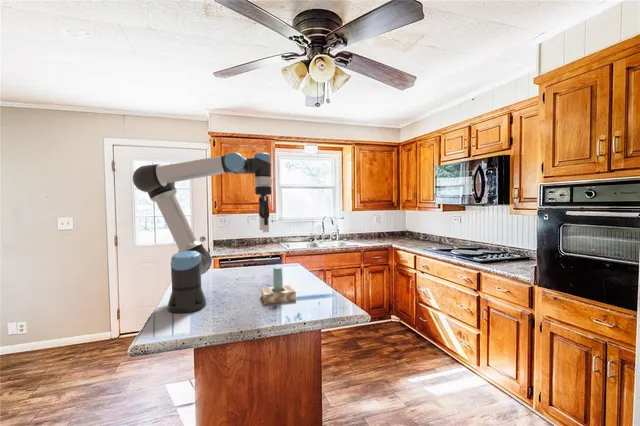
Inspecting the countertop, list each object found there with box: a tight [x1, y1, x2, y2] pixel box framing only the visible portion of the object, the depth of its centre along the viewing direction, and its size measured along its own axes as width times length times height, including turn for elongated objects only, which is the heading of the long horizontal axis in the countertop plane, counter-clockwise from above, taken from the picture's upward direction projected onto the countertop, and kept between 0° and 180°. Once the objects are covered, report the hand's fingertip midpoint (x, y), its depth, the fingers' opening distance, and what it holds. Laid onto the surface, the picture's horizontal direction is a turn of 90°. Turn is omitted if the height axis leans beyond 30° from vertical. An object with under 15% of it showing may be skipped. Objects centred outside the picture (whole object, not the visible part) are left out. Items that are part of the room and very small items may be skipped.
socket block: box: [260, 284, 297, 305], centre depth 146 cm, size 14×12×4 cm
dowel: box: [272, 266, 283, 292], centre depth 146 cm, size 4×4×14 cm
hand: (264, 231), depth 150 cm, fingers open, 13 cm apart
